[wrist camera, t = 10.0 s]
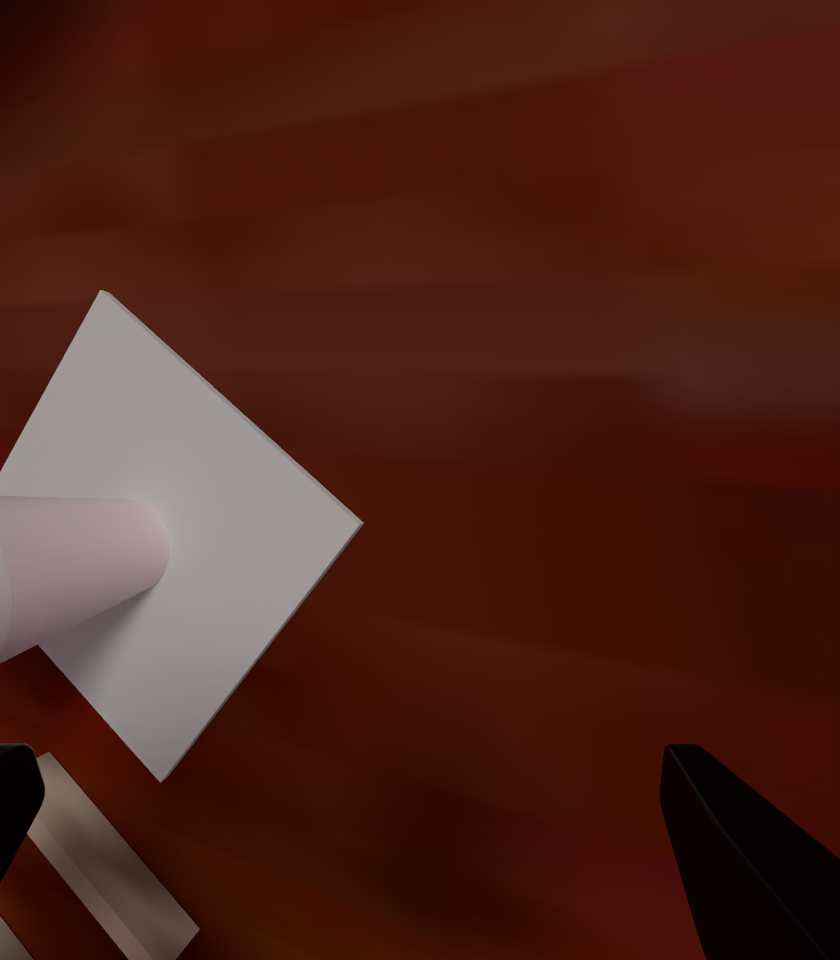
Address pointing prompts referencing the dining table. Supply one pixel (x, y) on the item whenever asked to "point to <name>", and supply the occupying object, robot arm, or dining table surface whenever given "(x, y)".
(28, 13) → the dining table surface
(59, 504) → the smoothie
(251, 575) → the mat
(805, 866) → the robot arm
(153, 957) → the holder
